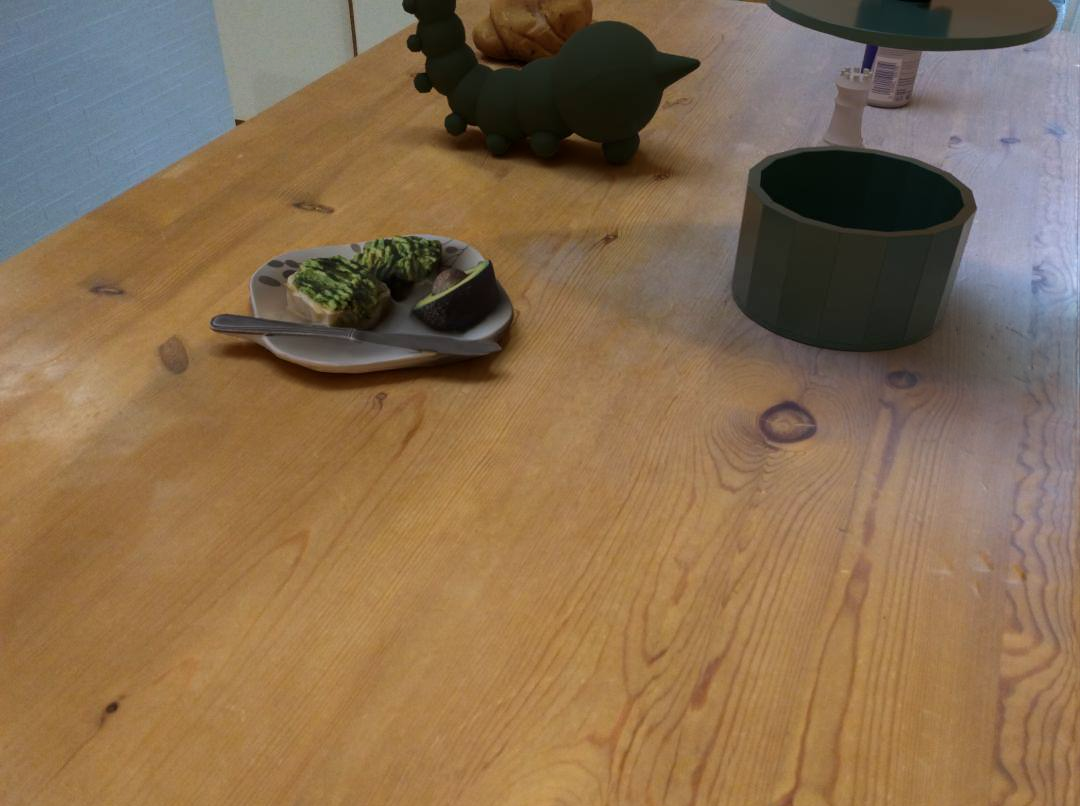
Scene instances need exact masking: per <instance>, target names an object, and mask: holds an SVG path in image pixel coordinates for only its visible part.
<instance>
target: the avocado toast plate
mask: <svg viewBox="0 0 1080 806" xmlns="http://www.w3.org/2000/svg"><path fill="white" fill-rule="evenodd" d="M248 282H249V283H248V290H249V301H250V307H251V310H252V314H253V316H248V315H241V314H233V313H220V314H218V315H216V316H213V317H212V318H211V319H210V321H209V329H210V331H212V332H214V333H217V334H220V335H225V336H229V337H235V338H241V339H245V340H249V341H251V342H254V343H255V344H258V345H260V346H262V347H264V348H265V349H267V350H268V351H269V352H271V353H272V354H273V355H274V356H276V357H277V358H278V359H282V360H285V361H287V362H290V363H292V364H296V365H298V366H302V367H303V368H307V369H310V370H313V371H316V372H323V373H334V374H366V373H373V372H383V371H392V370H400V369H411V368H412V369H413V368H427V367H439V366H444V365H450V364H454V363H459V362H463V361H469V360H473V359H476V358H478V357H483V356H486V355H490V354H493V353H494V354H495V353H496V352H499V351H502V350H503V349H502V347H501V346H500V345H499V343H498V342H499V341H500V340H501V339H502V338H503V336H504V335H505V334H506V332H507V331H508V330H509V329H510V327H511V325H512V323H513V322H514V318H515V317H514V316H515V312H514V307H513V303H512V300H511V298H510V296H509V294H508V293H507V291H506V289H505V288H504V286H503V285H502V284H501V282H500V280H499V279H498V278H497V277H496V273H495V270H494V265H493V262H492V260H491V259H485V257H484V255H482V254H481V252H480V251H479V250H478V249H477V248H475V247H474V246H473V245H471V244H469V243H467V242H464V241H462V240H459V239H455V238H454V237H453V238H452V237H448V236H442V235H436V234H428V233H427V234H426V233H425V234H423V233H413V234H405V235H394V236H392V237H386V238H384V237H382V238H374V240H373V239H372V240H367V241H360V242H352V243H346V244H339V245H337V244H335V245H331V244H330V245H329V244H328V245H325V246H317V247H309V248H301V249H295V250H290V251H287V252H285V253H282V254H279V255H277V256H274V257H273V258H270V259H269V260H268V261H266V262H265V263H264V264H263V265H261V266H260V267H259V268H257V270H255V271H254V273H253V274H252V275H251V277H250V278H249V281H248Z"/></svg>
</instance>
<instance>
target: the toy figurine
mask: <svg viewBox="0 0 1080 806" xmlns="http://www.w3.org/2000/svg"><path fill="white" fill-rule="evenodd" d="M401 2H402V3H401V6H402V8H403V11H404V12H406V13H408V14H410V15H413V16H414V18H416V19H417V21H418V22H417V25H416V29H415V33H414V34H409V35H408V37H407V39H406V47H407V49H408V50H409V51H410V52H411V53H420V52H421V54H423V55H424V57H425V63H424V71H425V72H424V71H423V72H417V73H416V75H415V77H414V78H413V80H412V82H413V87H414V88H415V90H416V91H417V92H418V93H419V94H428V93H431V91H432V90H433V89H434V90H435V91H436V92H437V93H438V94H439V95H442V96H444V97H446V100H447V104H448V108H449V109H450V110H451V113H449V114H447V115H446V116H445V118H444V123H443V126H444V129H445V130H446V132H447V134H449V135H450V136H452V137H455V138H456V137H459V136H461V135H462V134H463V135H464V134H465V133H467V130H468V126H471V127H478V129H479V130H480V131H481V132H482V134H483V135H485V136H486V139H485V143H486V146H487V150H488V151H489V152H490V153H492V154H494V155H496V156H499V155H505V154H506V152H507V150H508V148H509V146H510V144H511V145H512V144H516V143H519V142H520V143H521V142H523V141H524V140H526V139H527V138H530V144H529V146H530V148H531V149H532V151H533V152H534V154H535V155H536V156H538V157H541V158H546V159H548V158H550V157H552V156H553V155H554V154H556V153H557V152H559V150H560V145H561V141H564V140H565V139H567V138H569V137H571V136H572V135H573V134H575V135H576V136H578V137H580V138H582V139H584V140H586V141H589V142H593V143H598V144H601V151H602V153H603V157H604V158H606V159H607V161H609V162H610V163H612V164H616V165H622V164H625V163H628V162H629V161H630V160H631V159H632V158H633V157H635V155H636V154H637V152H638V151H639V147H640V145H641V144H640V143H641V137H640V134H639V133H640V132H641V131H642V130H644V129H645V128H646V126H648V124H649V123H650V122H651V121H652V119H653V118H654V117H655V115H656V113H657V111H658V109H659V108H660V105H661V103H662V99H663V95H664V91H666V89H668V88H669V87H670V86H672V85H673V84H675V83H677V82H679V81H680V80H682V79H684V78H685V77H687V76H688V75H690V74H692V73H693V72H694V71H696V70H698V69H699V68H700V67H701V61H700V60H699V59H698V58H693V57H689V56H684V55H679V54H672V53H668V52H663V51H660V50H658V49H657V47H656V46H655V44H654V43H653V42H652V41H651V40H650V38H649V37H648V36H647V34H645V33H643V32H642V31H641V30H639V29H638V28H637V27H635V26H633V25H631V24H629V23H626V22H623V21H617V20H601V21H597V22H592V23H591V25H588V26H586V27H584V28H582V29H580V30H578V31H577V32H576V33H574V34H573V35H572V36H571V37H570V38H569V39H568V40H567V41H566V42H565V43H564V45H563V46H562V48H561V49H560V51H559V53H558V54H557V56H556V58H555V57H543V58H539V59H536V60H534V61H532V62H530V63H529V62H527V64H525V65H524V66H523V67H521V69H517V68H513V67H501V68H497V69H493V68H492V67H490V66H487V65H486V64H482V63H479V60H478V57H477V55H476V52H475V51H474V50H473V48H472V47H471V46H470V45H469V44H468V43H467V42H466V41H467V37H466V36H467V35H466V28H465V26H464V23H463V20H462V19H461V18H460V16H459V15H458V14H457V13H456V9H457V0H402V1H401Z"/></svg>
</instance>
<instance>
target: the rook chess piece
mask: <svg viewBox="0 0 1080 806" xmlns="http://www.w3.org/2000/svg"><path fill="white" fill-rule="evenodd" d="M860 72H861V66H854V67H853V71H851V67H850V66H845V67H843V68H841V71H840V75H838V77H837V78H836V79H835V80H834V84H835V86H836V88H837V91H838V92H837V96H836V97H834V99H833V103H834V110H833V112H832V116H831V119H830V122H829V125H828V128H827V129H826V131H825V132H824V133H823V134H822V138H821V139H820V140H819V141H817V143H816V144H815V147H821V146H844V147H855V148H866V147H865V145H864V143H863V142H864V138H863V137H862V122H863V116H864V115H863V114H864V110H865V108H866V106H868V104H867V101H866V96H867V93H868V92H869V91H870V90H871V89H872V88H873V87H874V83H873V81H872V79H871V77H872V72H870V70H869V69H866V68H865V69H864V71H863V74H862V73H860Z"/></svg>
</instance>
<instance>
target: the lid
mask: <svg viewBox="0 0 1080 806" xmlns="http://www.w3.org/2000/svg"><path fill="white" fill-rule="evenodd" d="M763 1H764V3H765V4H766V6H767V7H768V8H769V9H770V10H771V11H772V12H773V13H775V14H777V15H778V16H780V17H781V18H782V19H785V20H787V21H789V22H790V23H793V24H796V25H798V26H800V27H803V28H805V29H806V28H807V29H810V30H812V31H816V32H819V33H822V34H826V35H829V36H832V37H835V38H838V39H841V40H842V39H843V40H846V41H849V42H854V43H859V44H863V45H866V44H868V45H873V46H879V47H886V48H893V49H902V50H914V51H922V52H935V53H936V52H938V53H939V52H940V53H941V52H965V51H966V52H967V51H987V50H998V49H999V50H1000V49H1007V48H1013V47H1019V46H1023V45H1027V44H1031V43H1035V42H1037V41H1039V40H1042V39H1044V38H1046V37H1047V36H1048V35H1050V34H1051V33H1052V31H1053V30H1054V28H1055V26H1056V24H1057V20H1058V15H1059V12H1058V9H1057V7H1056V6H1055V4H1053V2H1051V1H1050V0H763Z"/></svg>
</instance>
